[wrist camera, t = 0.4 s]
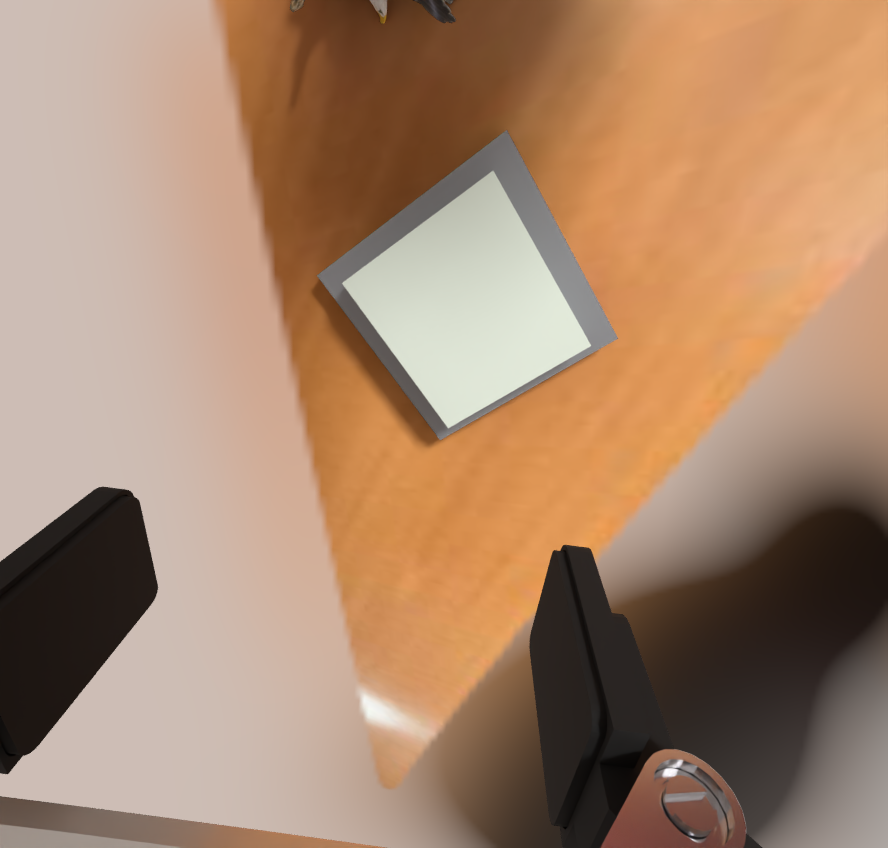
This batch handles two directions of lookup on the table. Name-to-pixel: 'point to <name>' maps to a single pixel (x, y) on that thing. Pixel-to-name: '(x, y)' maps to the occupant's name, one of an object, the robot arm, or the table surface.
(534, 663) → the robot arm
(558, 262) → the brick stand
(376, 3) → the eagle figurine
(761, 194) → the table surface
